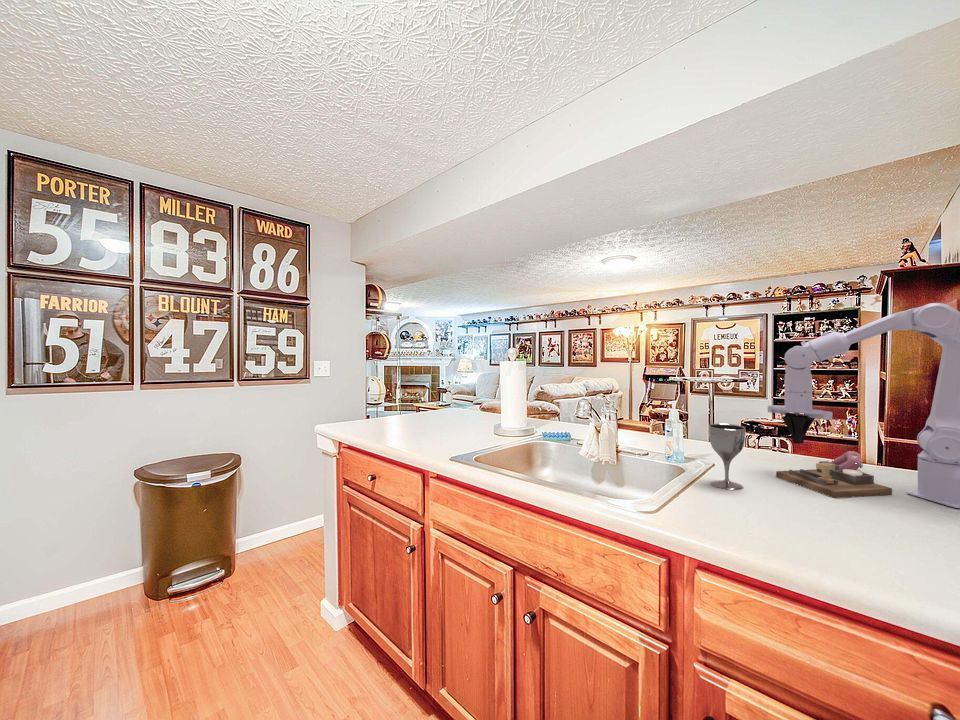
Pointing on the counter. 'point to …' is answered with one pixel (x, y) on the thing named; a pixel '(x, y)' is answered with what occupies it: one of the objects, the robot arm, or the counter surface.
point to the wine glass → (727, 449)
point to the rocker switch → (830, 463)
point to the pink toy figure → (848, 461)
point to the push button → (852, 472)
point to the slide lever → (825, 471)
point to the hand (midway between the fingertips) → (798, 443)
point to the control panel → (836, 483)
